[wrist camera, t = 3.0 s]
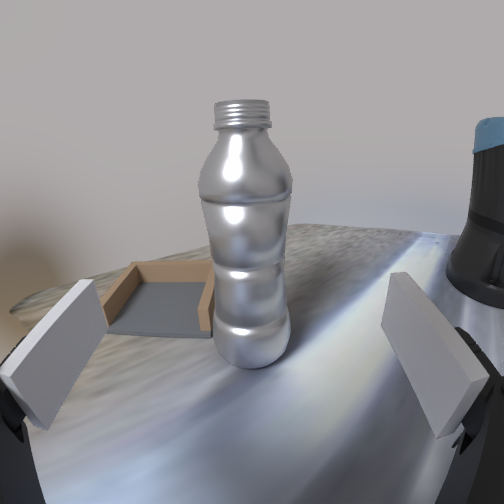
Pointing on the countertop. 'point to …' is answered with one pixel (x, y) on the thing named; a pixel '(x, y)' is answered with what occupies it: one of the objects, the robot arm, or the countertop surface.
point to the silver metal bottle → (247, 234)
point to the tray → (162, 300)
